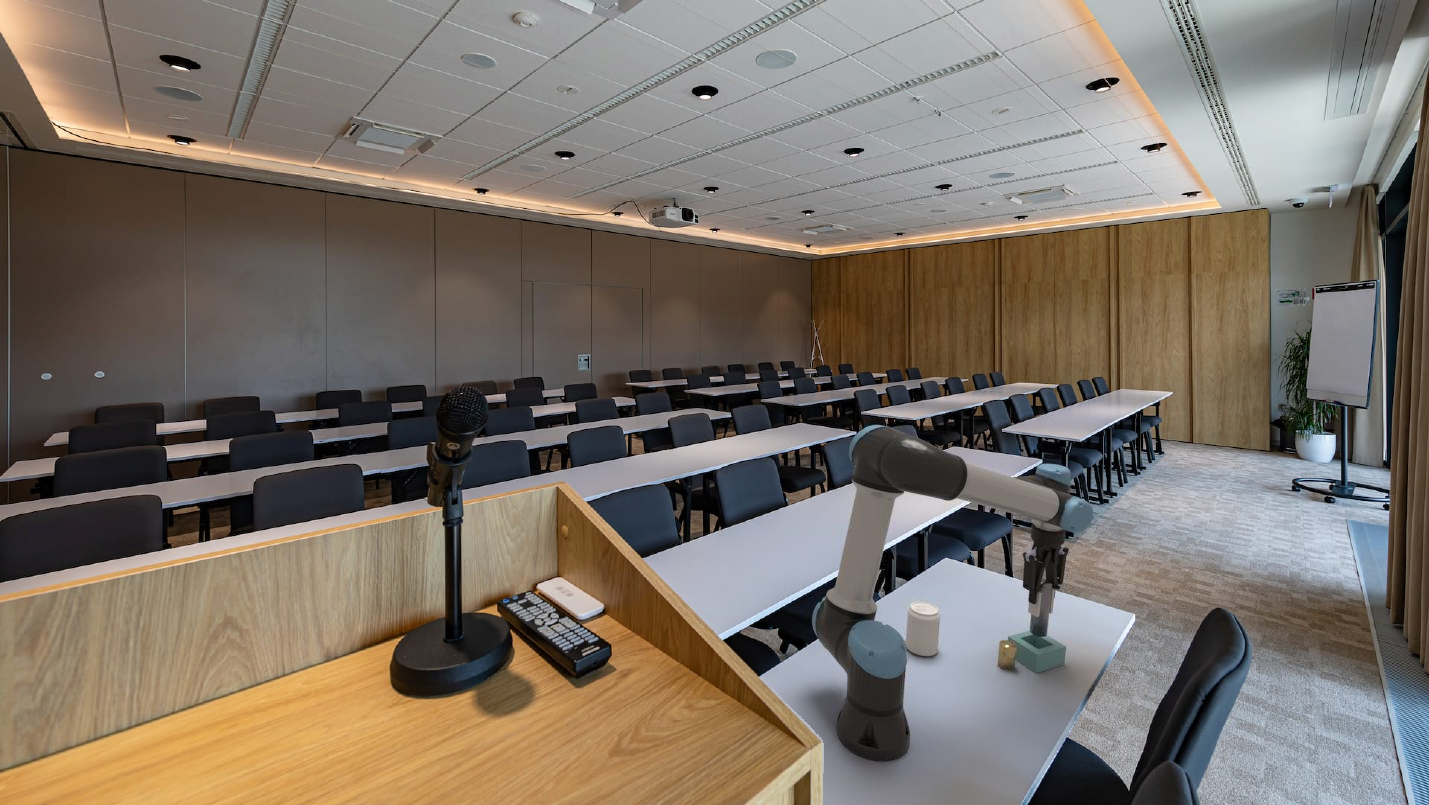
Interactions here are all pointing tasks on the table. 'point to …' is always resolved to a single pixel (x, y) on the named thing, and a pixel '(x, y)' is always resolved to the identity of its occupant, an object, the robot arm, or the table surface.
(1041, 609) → the long pin
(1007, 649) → the short pin
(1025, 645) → the hole block
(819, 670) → the table surface
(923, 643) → the beverage can
